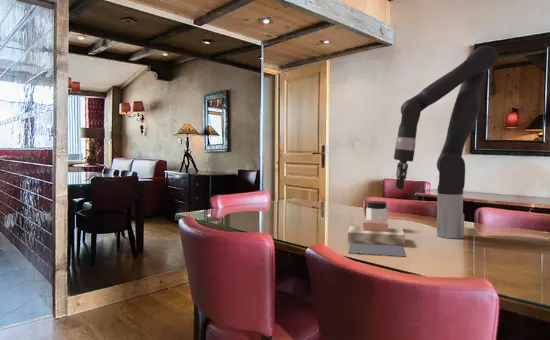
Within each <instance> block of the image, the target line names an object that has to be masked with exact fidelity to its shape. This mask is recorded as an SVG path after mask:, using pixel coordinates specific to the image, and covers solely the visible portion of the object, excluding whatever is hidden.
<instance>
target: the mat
mask: <svg viewBox="0 0 550 340" xmlns="http://www.w3.org/2000/svg"><path fill="white" fill-rule="evenodd" d="M403 247H404V246H401V245H383V244H365V243H349V248H348V254H349V253H360V252H361V253H363V254H362V255H365V254H375V255H374V256H381V255H392V256H391V257H397V256H404V257H403V258H407V256H406V253H405V250H404V248H403Z"/></svg>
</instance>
